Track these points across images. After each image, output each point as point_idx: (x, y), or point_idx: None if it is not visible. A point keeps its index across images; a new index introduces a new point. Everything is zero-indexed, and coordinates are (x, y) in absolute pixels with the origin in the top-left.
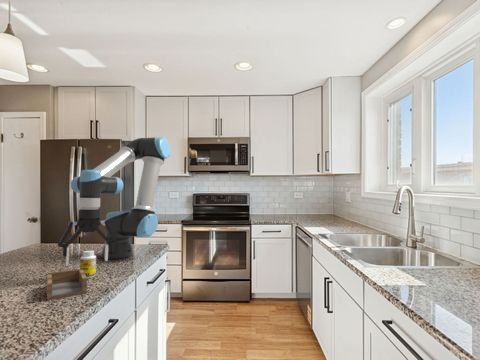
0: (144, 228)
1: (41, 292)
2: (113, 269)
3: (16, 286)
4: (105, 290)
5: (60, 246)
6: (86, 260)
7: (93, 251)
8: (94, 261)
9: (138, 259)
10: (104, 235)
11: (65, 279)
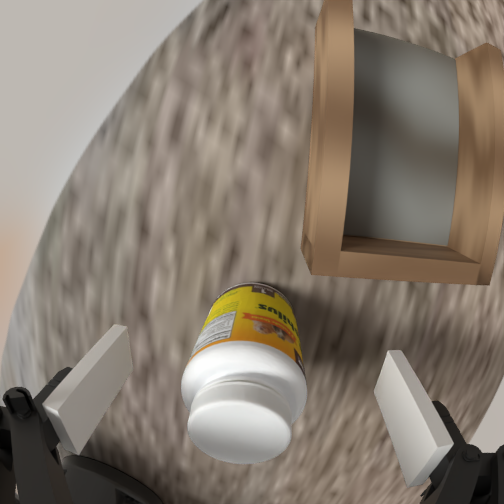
0: None
1: None
2: None
3: (499, 339)
4: (225, 15)
5: (499, 448)
6: (271, 343)
7: (196, 409)
8: (205, 337)
9: None
10: (24, 499)
11: (398, 244)
